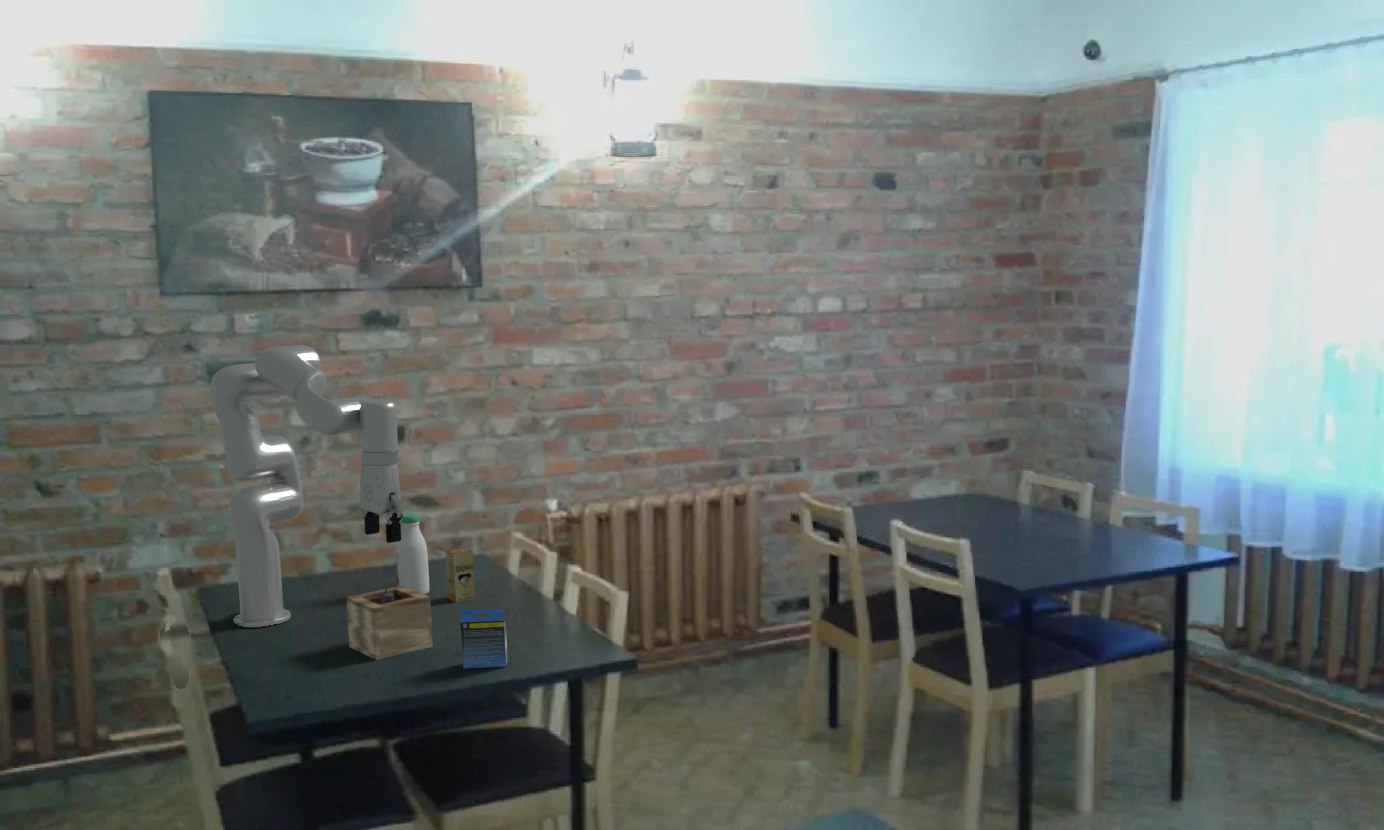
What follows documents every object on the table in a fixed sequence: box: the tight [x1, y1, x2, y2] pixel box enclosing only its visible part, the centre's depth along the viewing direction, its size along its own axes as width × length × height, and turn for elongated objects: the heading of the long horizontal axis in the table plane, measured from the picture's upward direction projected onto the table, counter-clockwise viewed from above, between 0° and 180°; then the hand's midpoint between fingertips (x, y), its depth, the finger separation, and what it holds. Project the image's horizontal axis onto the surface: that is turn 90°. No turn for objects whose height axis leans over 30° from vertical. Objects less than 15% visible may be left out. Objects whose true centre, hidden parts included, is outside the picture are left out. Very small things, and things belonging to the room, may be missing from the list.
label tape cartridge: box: [459, 607, 508, 670], centre depth 252 cm, size 9×4×12 cm, turn 92°
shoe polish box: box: [445, 547, 476, 604], centre depth 304 cm, size 5×5×12 cm
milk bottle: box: [395, 513, 430, 595], centre depth 310 cm, size 8×8×20 cm
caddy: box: [345, 585, 434, 661], centre depth 266 cm, size 13×13×11 cm
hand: (382, 537), depth 265 cm, fingers open, 9 cm apart
